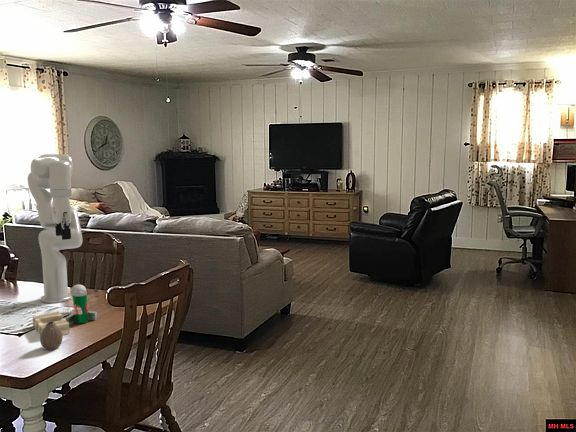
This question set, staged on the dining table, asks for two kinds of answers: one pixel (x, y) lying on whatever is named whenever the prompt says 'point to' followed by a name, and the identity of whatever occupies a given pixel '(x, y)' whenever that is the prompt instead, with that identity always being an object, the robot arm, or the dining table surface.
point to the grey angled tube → (90, 316)
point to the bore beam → (55, 317)
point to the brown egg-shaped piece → (51, 336)
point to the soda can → (80, 307)
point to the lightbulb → (77, 289)
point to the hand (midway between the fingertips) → (63, 237)
